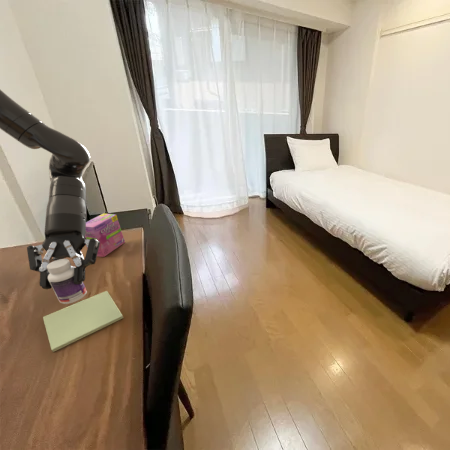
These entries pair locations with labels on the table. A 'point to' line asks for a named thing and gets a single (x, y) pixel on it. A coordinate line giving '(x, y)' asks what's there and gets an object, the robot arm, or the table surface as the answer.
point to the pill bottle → (65, 281)
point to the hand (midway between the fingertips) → (62, 285)
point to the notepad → (80, 320)
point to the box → (105, 233)
